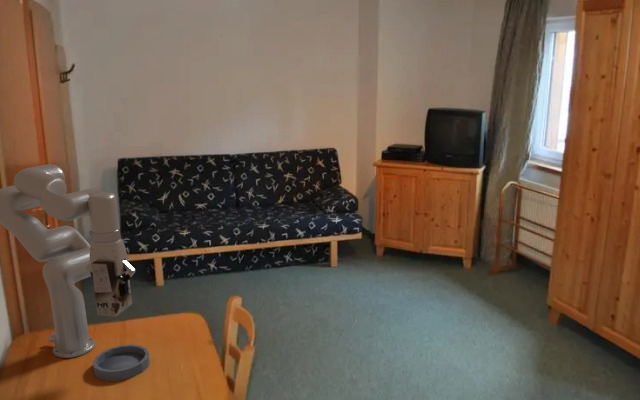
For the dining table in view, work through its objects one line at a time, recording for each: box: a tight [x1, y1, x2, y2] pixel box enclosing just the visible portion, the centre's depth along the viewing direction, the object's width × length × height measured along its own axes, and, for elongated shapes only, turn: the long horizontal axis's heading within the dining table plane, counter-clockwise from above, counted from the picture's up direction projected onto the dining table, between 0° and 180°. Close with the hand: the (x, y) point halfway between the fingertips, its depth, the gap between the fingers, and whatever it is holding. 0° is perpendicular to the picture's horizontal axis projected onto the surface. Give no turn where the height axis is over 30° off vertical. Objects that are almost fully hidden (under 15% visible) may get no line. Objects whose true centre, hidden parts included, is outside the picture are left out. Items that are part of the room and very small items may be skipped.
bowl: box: [92, 343, 151, 382], centre depth 172 cm, size 16×16×3 cm
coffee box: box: [91, 261, 133, 318], centre depth 166 cm, size 9×6×16 cm
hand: (113, 293), depth 166 cm, fingers closed on coffee box, 6 cm apart
